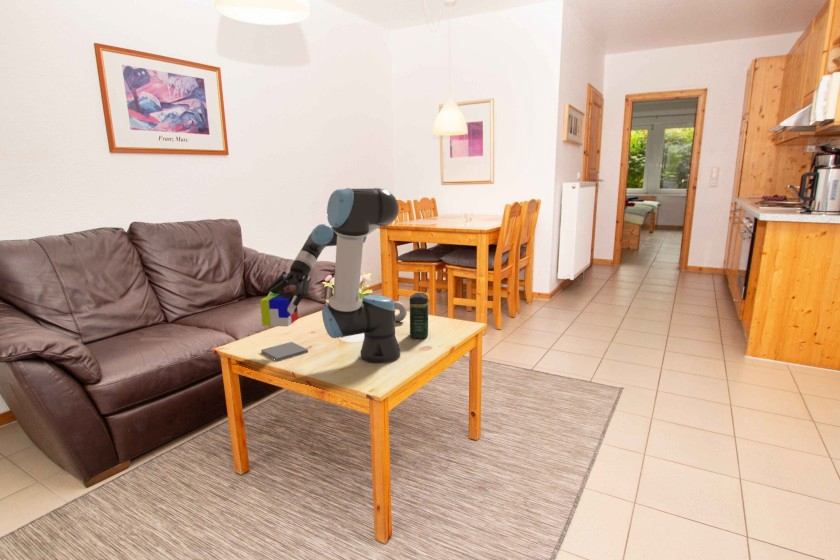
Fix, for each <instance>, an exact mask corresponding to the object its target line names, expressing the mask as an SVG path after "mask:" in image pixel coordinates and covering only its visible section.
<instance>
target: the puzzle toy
mask: <svg viewBox="0 0 840 560" xmlns="http://www.w3.org/2000/svg"><path fill="white" fill-rule="evenodd" d="M294 296H297V293H276V294H271V295H269V296H267V295H266V296H265V297H263V298H261V299H259V301H260V313H261V314H260V315H261V324H262V327H289V326H291V325H292V324H293V323H294V322H296V321H297V320H298V319H299V313H298V312H299V311H298V306H296V308H295V310H294V311H293V313H292V314H290V313H289V312H288V311H287V308H288V306H289V304H290V303H291V301H292V299H293V298H294Z"/></svg>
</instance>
